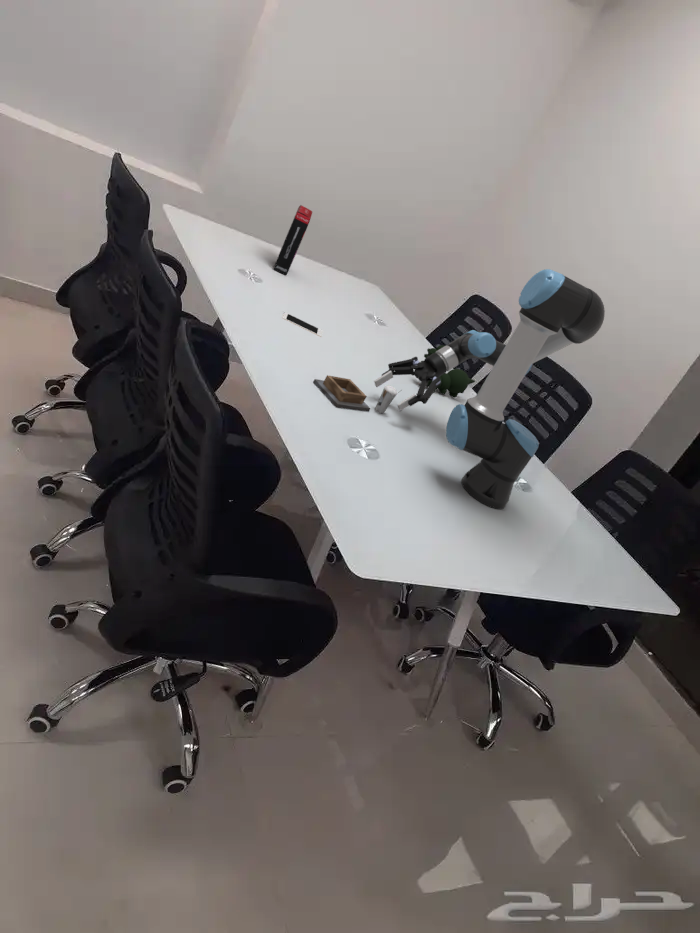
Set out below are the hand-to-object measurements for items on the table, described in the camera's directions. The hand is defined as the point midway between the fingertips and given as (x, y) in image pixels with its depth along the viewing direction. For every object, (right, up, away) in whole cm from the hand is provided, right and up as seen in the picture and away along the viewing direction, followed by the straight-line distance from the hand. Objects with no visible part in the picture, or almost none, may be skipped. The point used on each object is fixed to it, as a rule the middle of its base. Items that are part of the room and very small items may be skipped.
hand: (386, 395), depth 229 cm
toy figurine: (+22, +6, +49) cm, 54 cm away
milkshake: (-2, -5, +2) cm, 6 cm away
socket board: (-15, -1, -3) cm, 15 cm away
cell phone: (-30, +30, +40) cm, 58 cm away
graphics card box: (-43, +65, +91) cm, 120 cm away
